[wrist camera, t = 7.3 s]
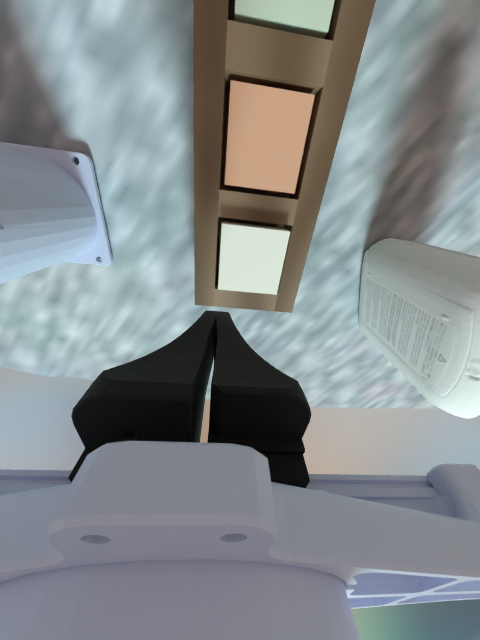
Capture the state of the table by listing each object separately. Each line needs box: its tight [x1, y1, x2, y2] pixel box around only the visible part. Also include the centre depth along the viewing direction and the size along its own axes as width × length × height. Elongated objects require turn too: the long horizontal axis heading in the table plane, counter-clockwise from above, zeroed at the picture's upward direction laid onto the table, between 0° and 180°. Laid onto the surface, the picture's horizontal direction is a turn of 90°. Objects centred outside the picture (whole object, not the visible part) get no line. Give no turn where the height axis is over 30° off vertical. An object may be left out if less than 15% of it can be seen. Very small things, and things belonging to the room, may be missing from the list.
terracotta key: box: [225, 80, 315, 195], centre depth 12 cm, size 4×4×2 cm
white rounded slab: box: [359, 238, 480, 418], centre depth 16 cm, size 10×4×12 cm, turn 14°
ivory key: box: [218, 221, 290, 295], centre depth 15 cm, size 4×4×2 cm
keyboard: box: [194, 0, 376, 313], centre depth 12 cm, size 8×28×4 cm, turn 174°
